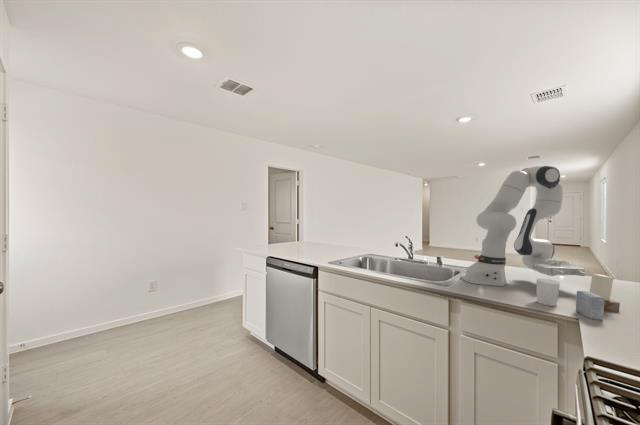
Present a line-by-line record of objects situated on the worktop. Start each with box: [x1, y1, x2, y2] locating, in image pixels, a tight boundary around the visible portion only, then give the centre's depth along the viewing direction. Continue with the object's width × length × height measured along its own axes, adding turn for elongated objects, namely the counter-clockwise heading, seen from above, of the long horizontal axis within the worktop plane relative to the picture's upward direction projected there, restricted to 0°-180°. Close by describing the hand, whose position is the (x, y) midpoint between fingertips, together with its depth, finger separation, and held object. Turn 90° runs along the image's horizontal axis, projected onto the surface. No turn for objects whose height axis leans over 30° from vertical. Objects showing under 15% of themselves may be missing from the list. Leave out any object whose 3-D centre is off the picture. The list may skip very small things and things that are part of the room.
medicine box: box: [575, 290, 605, 321], centre depth 107 cm, size 8×4×9 cm, turn 168°
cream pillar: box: [589, 273, 614, 301], centre depth 116 cm, size 4×4×10 cm
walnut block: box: [604, 299, 621, 312], centre depth 117 cm, size 9×9×4 cm
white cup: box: [535, 277, 561, 307], centre depth 120 cm, size 8×8×10 cm
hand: (573, 274), depth 129 cm, fingers open, 8 cm apart
